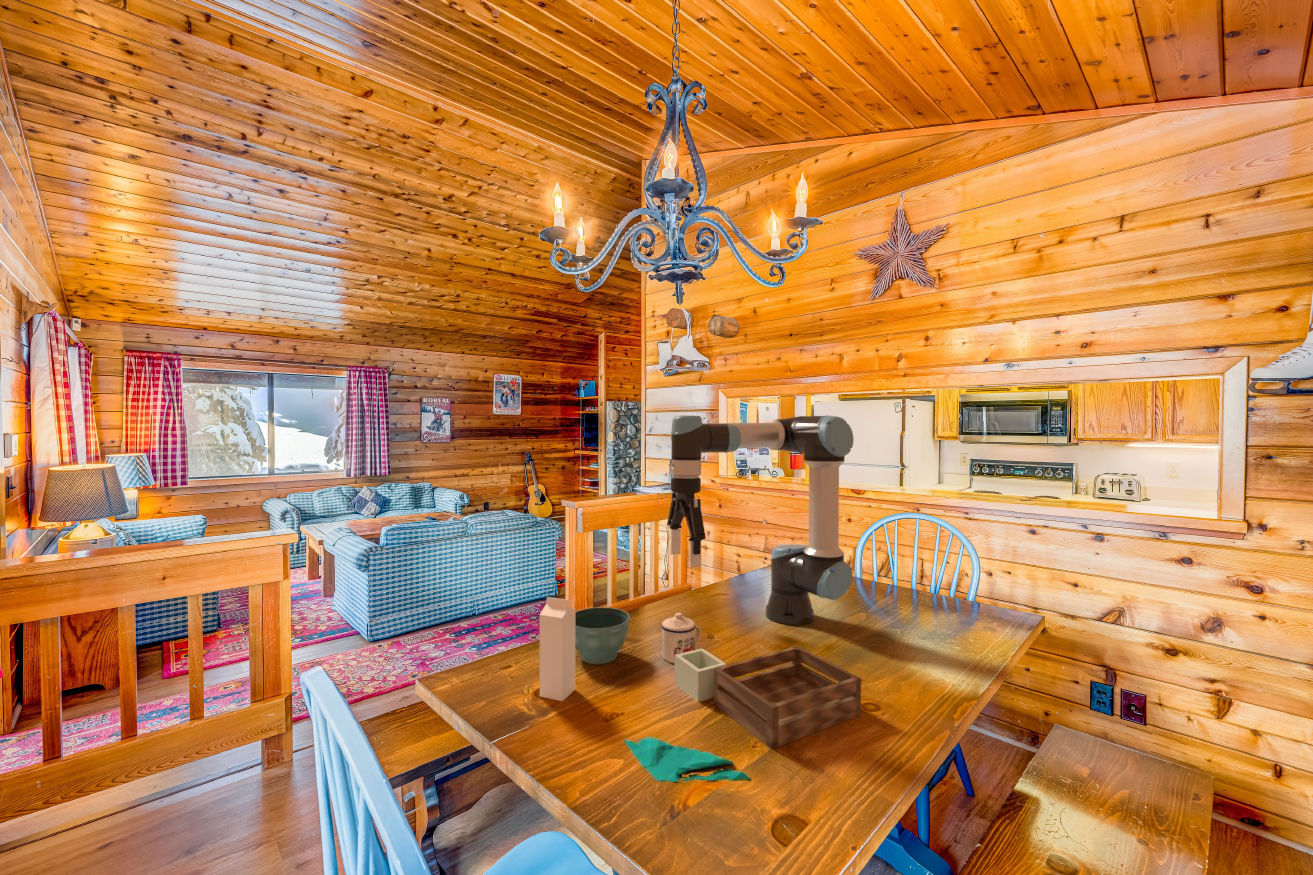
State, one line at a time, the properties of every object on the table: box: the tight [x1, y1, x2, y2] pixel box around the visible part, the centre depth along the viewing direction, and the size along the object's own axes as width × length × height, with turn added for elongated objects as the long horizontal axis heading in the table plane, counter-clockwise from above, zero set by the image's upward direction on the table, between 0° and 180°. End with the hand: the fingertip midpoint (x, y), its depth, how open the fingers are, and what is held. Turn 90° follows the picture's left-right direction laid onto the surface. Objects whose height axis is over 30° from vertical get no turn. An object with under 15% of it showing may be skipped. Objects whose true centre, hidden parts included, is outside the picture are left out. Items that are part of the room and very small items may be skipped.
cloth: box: [623, 736, 753, 783], centre depth 100 cm, size 26×14×2 cm, turn 52°
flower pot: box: [575, 606, 630, 665], centre depth 144 cm, size 16×16×11 cm
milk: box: [539, 596, 576, 702], centre depth 124 cm, size 6×6×22 cm
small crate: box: [673, 648, 728, 703], centre depth 127 cm, size 8×10×7 cm
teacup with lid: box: [661, 612, 702, 664], centre depth 145 cm, size 12×9×12 cm
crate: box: [713, 645, 862, 750], centre depth 118 cm, size 25×19×8 cm
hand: (684, 560), depth 137 cm, fingers open, 13 cm apart
